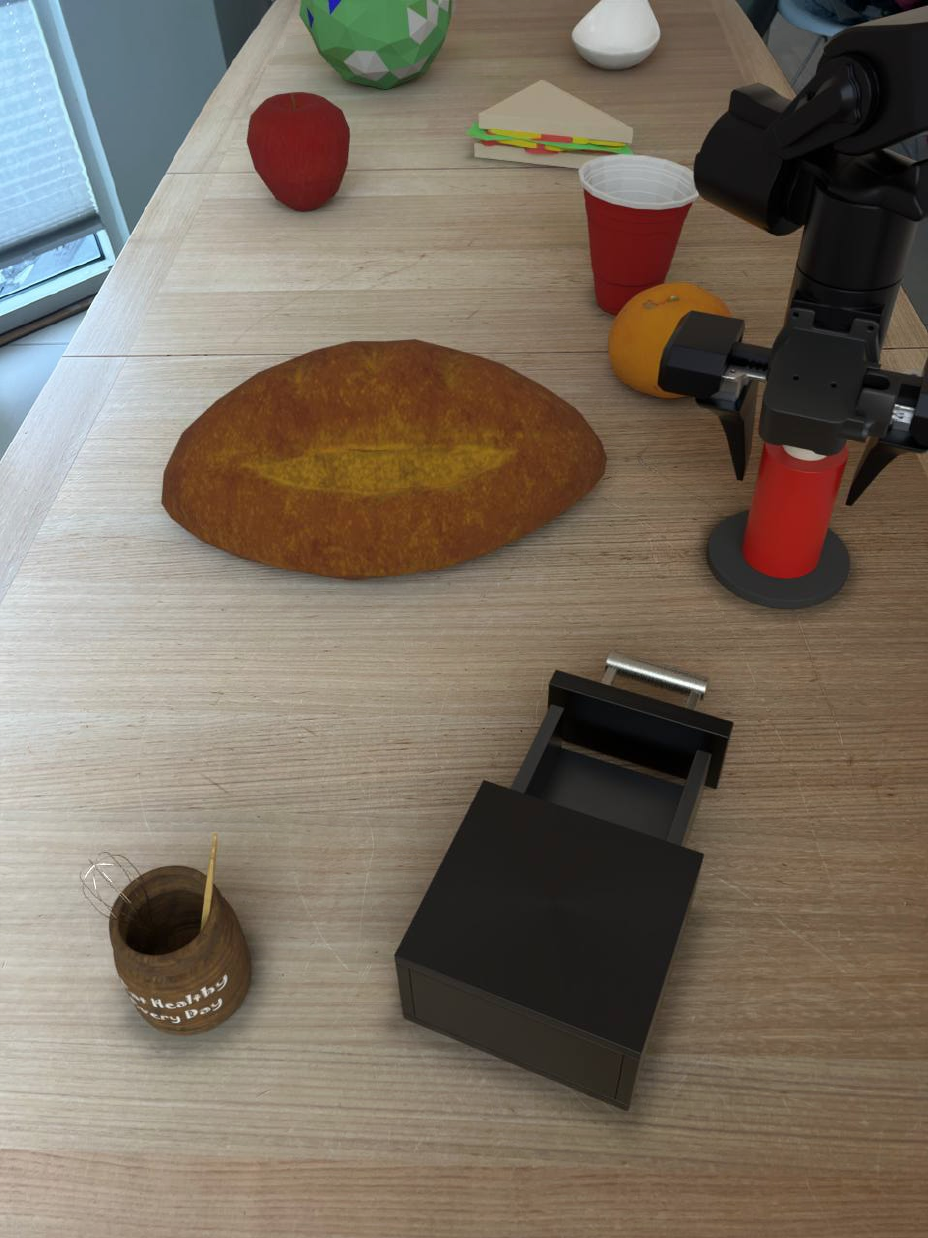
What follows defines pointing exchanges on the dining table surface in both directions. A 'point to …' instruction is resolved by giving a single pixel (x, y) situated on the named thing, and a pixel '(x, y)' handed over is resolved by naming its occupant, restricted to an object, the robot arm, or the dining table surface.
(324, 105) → the apple
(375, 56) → the decorative sphere
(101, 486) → the dining table surface
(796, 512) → the ketchup bottle
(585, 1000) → the cabinet
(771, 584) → the disc
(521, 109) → the sandwich
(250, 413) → the bread
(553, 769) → the drawer
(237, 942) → the utensil holder
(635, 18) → the spoon rest
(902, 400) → the robot arm
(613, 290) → the plastic cup
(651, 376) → the fruit
